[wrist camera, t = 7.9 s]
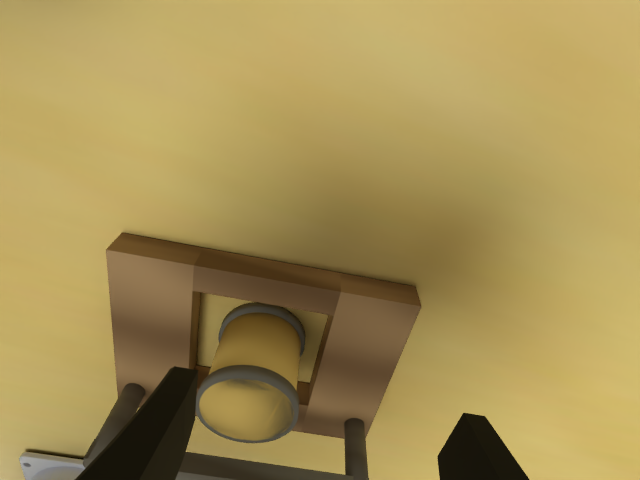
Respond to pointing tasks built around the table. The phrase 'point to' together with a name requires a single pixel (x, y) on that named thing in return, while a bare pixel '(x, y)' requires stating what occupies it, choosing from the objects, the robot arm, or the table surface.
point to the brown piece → (264, 287)
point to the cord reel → (253, 375)
